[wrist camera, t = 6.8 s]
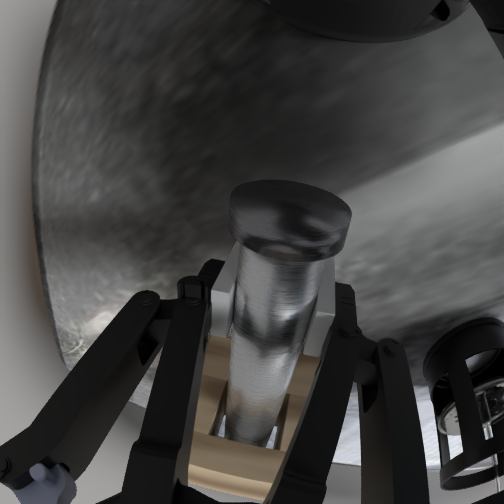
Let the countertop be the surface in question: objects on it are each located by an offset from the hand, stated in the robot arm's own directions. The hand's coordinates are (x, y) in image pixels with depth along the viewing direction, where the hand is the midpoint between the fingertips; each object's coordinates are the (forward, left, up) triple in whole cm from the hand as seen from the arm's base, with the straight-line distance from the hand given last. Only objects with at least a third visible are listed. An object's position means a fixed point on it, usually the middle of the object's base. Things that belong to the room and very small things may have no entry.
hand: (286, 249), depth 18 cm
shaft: (+5, 0, +3) cm, 6 cm away
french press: (+8, +19, -2) cm, 21 cm away
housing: (+14, 0, -2) cm, 14 cm away
